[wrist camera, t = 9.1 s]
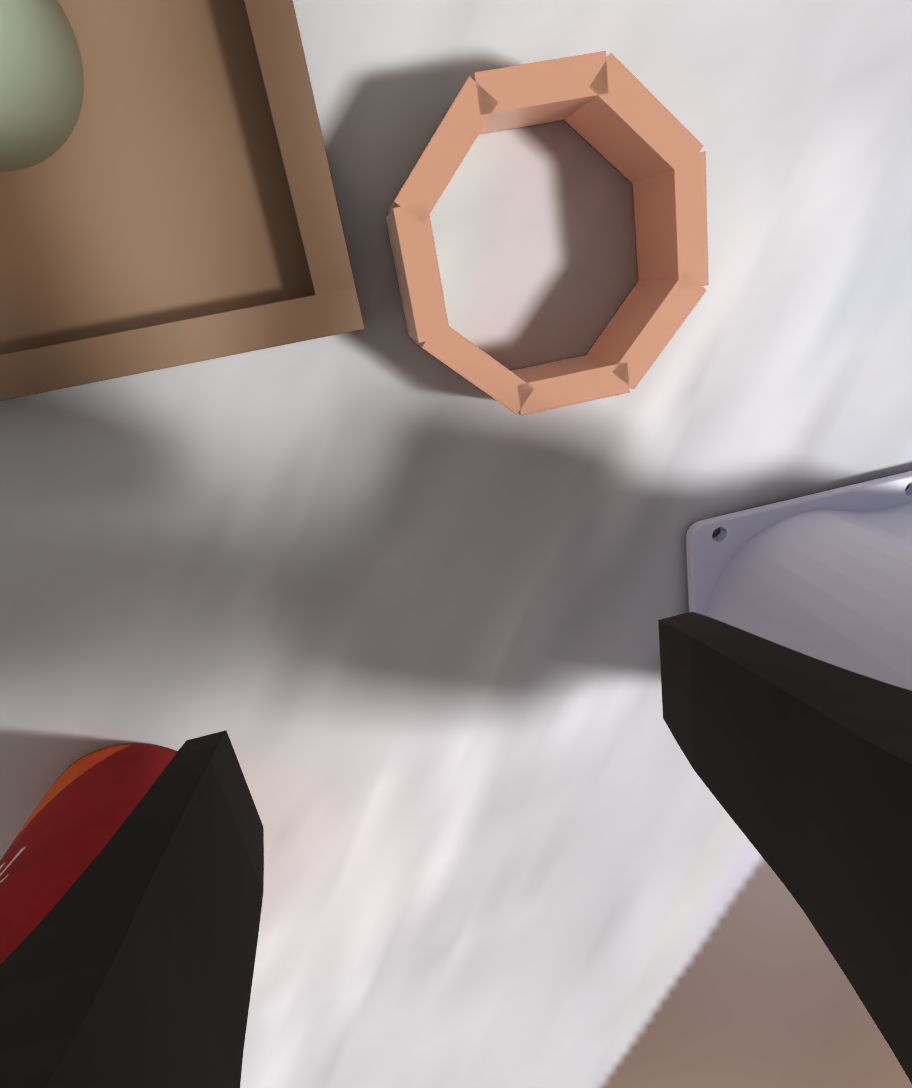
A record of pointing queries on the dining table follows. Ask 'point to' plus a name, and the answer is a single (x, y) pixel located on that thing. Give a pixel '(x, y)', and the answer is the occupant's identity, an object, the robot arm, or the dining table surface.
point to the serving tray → (173, 202)
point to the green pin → (37, 81)
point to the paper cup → (71, 832)
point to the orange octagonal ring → (659, 207)
